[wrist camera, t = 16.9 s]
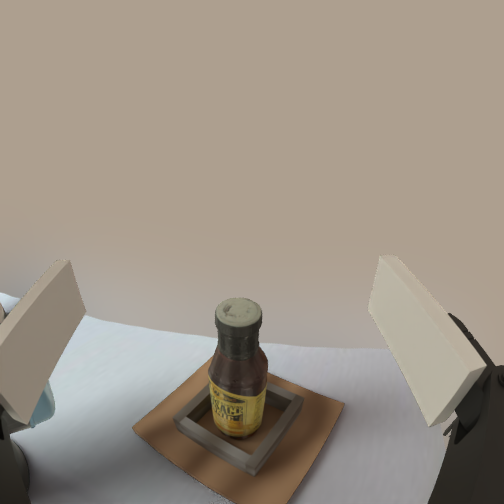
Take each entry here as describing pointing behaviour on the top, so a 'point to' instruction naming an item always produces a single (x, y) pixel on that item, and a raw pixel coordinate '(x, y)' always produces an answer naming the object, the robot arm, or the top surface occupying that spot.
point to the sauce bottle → (238, 369)
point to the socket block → (242, 450)
